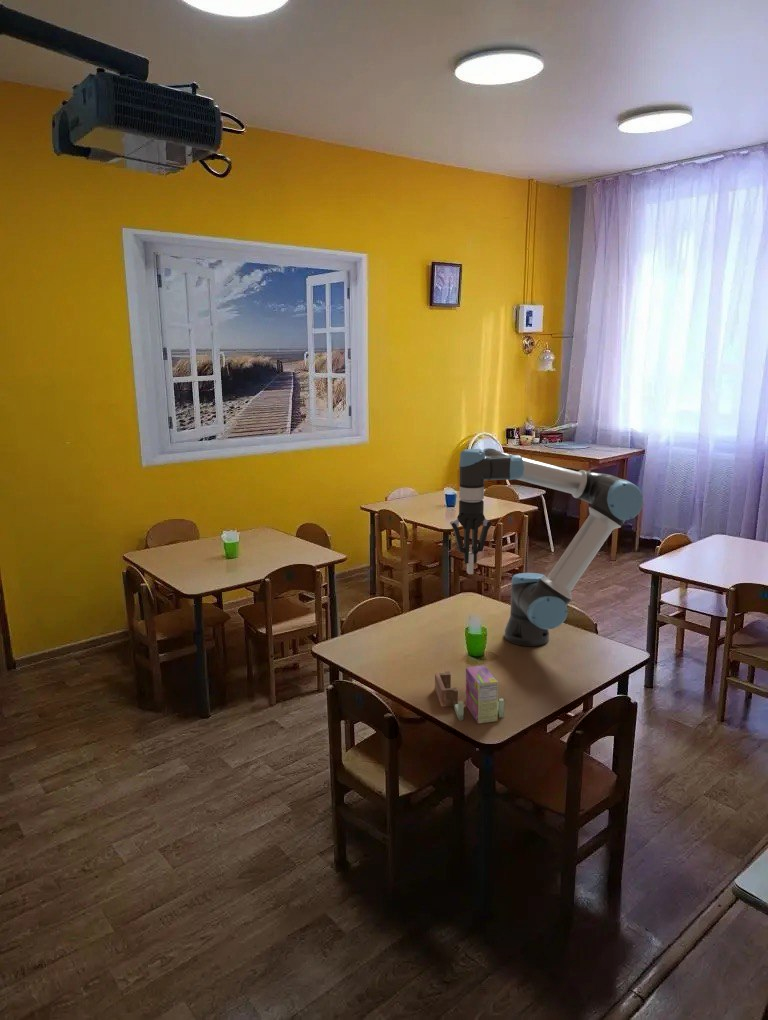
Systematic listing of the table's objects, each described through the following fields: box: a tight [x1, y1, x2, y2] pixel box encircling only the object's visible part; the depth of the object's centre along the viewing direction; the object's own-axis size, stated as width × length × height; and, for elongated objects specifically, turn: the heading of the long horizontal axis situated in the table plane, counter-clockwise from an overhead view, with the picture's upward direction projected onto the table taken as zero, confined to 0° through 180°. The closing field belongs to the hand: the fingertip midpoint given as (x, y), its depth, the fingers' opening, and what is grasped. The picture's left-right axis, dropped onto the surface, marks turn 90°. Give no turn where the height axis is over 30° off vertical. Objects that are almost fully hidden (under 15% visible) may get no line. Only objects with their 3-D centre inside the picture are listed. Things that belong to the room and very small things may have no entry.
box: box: [465, 665, 499, 724], centre depth 188 cm, size 10×6×12 cm, turn 12°
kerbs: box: [453, 698, 505, 721], centre depth 189 cm, size 12×6×5 cm, turn 96°
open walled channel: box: [434, 671, 459, 708], centre depth 199 cm, size 16×12×5 cm
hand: (470, 572), depth 217 cm, fingers closed
